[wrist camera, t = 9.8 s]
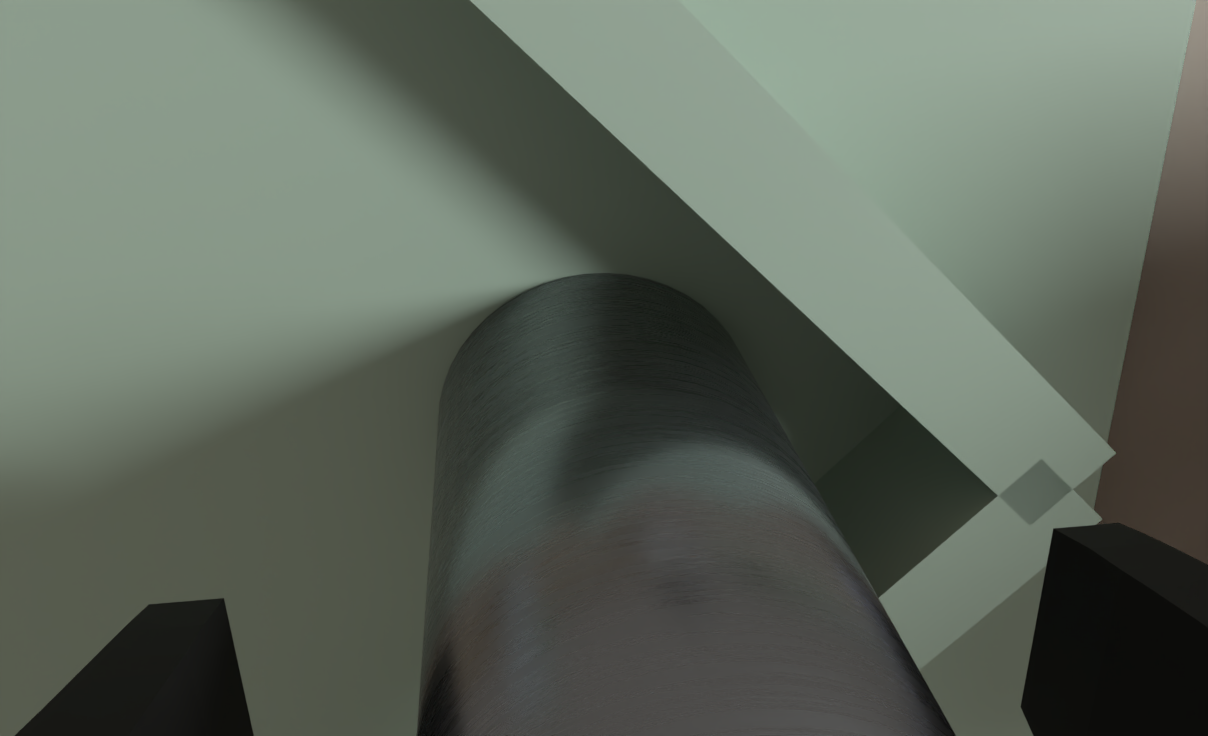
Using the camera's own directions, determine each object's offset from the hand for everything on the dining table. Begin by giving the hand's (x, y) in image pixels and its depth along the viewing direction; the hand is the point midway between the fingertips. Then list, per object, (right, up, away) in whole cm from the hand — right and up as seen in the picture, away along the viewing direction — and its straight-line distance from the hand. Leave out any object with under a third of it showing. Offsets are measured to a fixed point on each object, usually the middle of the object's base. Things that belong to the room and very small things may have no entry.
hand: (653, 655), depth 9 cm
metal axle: (-1, +2, +4) cm, 4 cm away
